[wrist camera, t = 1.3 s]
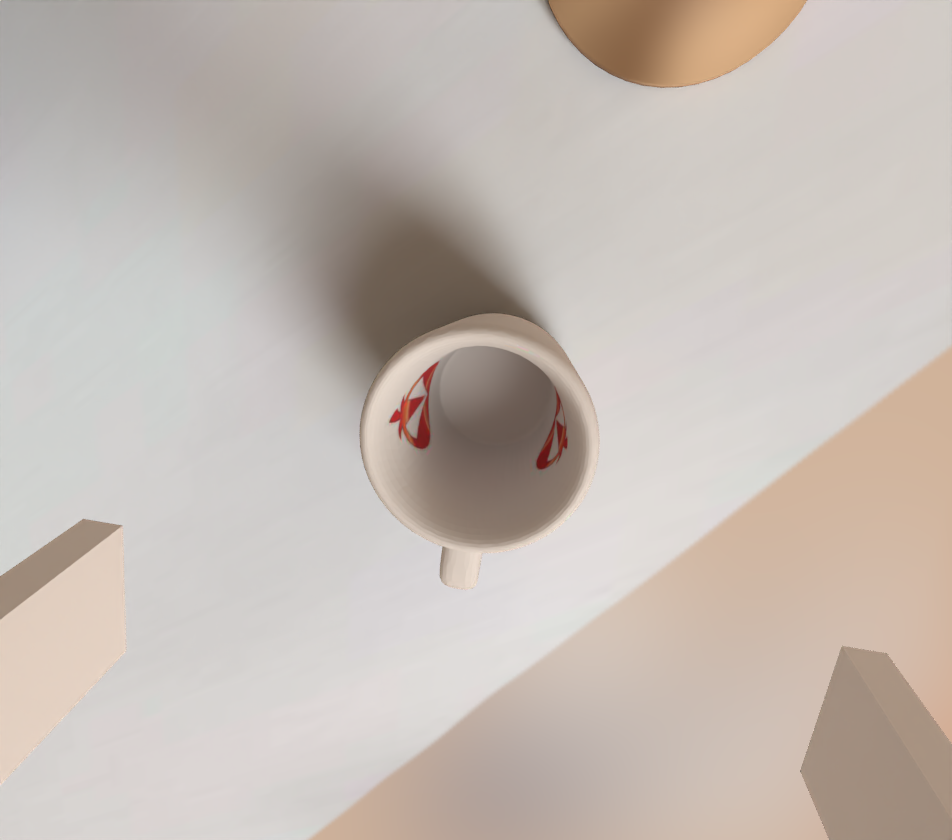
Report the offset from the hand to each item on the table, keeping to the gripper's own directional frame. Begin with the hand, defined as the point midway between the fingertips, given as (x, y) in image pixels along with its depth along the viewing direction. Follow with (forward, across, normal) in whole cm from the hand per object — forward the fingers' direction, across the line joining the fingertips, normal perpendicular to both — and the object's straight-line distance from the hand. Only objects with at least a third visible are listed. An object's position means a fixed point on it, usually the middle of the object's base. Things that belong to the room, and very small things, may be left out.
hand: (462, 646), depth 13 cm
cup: (+19, -1, -2) cm, 19 cm away
